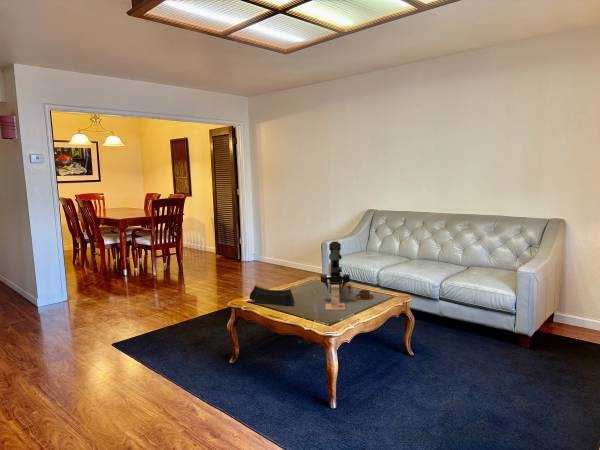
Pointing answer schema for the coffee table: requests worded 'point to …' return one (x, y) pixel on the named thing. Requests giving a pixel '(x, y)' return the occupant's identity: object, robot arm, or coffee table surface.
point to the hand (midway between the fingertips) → (335, 289)
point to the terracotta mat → (341, 307)
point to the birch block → (334, 296)
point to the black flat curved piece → (272, 296)
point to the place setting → (362, 294)
